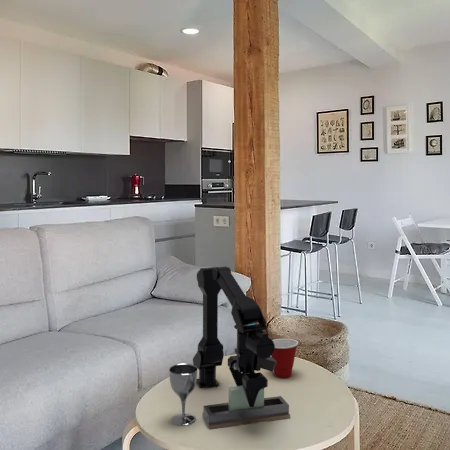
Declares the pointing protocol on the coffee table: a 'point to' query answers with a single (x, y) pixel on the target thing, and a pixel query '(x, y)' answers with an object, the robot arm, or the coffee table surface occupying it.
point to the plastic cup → (284, 356)
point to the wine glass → (183, 389)
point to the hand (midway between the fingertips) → (246, 399)
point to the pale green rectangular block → (243, 399)
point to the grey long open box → (245, 413)
